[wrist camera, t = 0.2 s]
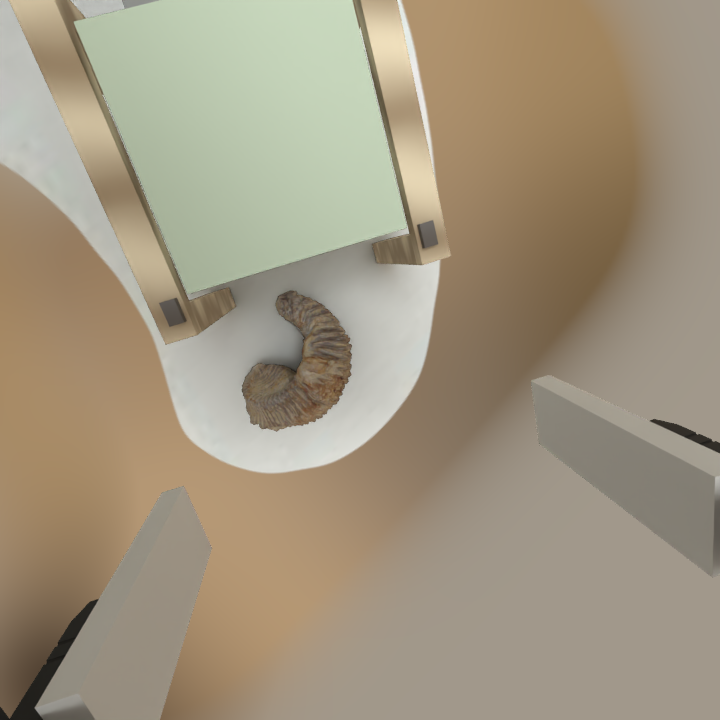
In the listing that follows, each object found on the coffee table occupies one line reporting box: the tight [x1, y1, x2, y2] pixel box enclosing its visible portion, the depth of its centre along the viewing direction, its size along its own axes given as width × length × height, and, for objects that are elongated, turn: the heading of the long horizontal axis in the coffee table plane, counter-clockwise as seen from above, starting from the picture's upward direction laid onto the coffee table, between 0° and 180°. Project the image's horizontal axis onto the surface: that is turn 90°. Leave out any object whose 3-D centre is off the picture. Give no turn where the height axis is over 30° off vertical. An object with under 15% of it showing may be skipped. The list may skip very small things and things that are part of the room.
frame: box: [9, 0, 451, 345], centre depth 29 cm, size 19×19×16 cm
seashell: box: [242, 291, 352, 432], centre depth 38 cm, size 14×10×10 cm
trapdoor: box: [74, 0, 407, 294], centre depth 23 cm, size 14×14×4 cm
